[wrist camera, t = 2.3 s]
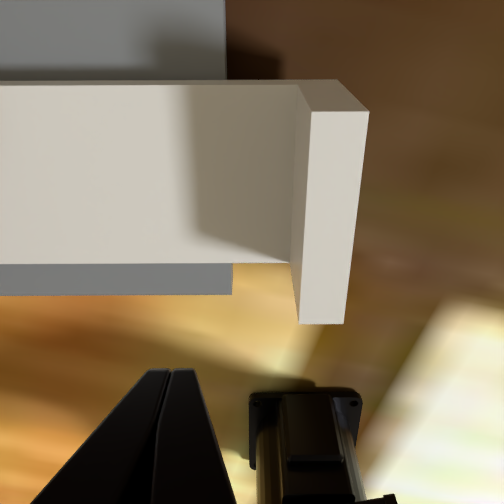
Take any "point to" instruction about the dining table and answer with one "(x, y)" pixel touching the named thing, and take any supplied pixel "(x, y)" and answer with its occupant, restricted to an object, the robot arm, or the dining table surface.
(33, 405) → the dining table surface
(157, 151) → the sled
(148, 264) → the grey piece
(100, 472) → the robot arm
